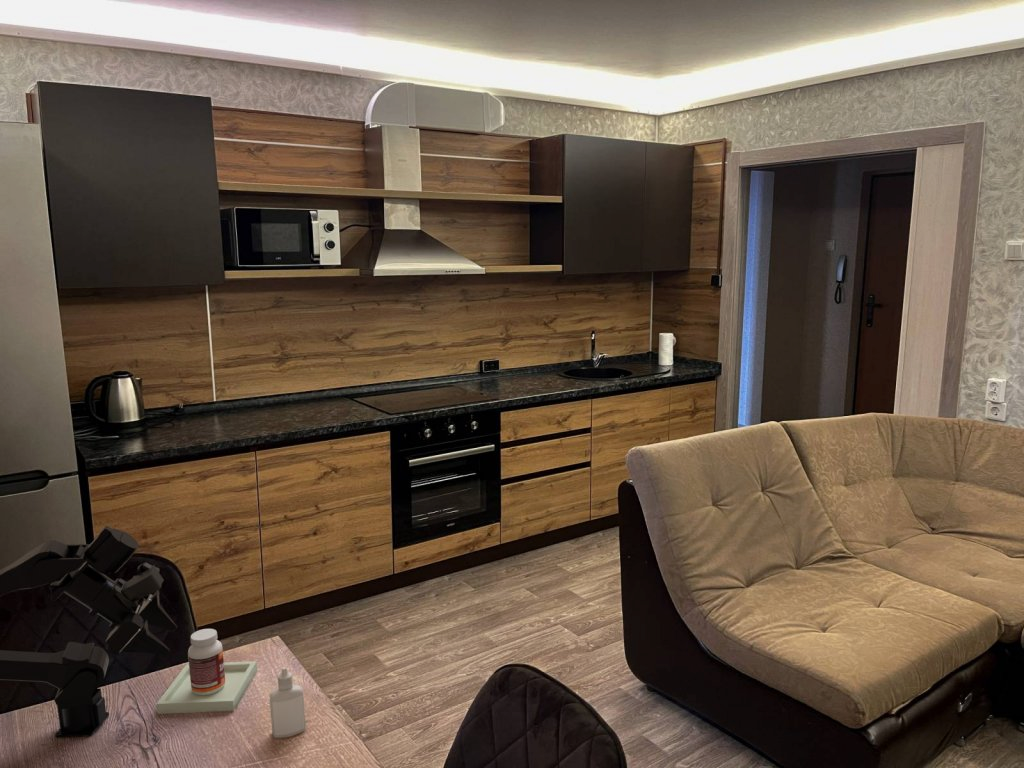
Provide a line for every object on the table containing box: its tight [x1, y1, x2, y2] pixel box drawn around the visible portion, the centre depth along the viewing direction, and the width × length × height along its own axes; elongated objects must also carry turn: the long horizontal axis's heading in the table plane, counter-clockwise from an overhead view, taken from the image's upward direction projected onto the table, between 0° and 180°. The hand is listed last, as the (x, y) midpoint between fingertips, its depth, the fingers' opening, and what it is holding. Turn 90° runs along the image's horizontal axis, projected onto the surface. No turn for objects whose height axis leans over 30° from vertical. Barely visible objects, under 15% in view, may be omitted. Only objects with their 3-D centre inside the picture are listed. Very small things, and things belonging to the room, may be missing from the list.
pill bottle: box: [187, 628, 225, 695], centre depth 143 cm, size 6×6×11 cm
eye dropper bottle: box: [269, 666, 307, 739], centre depth 130 cm, size 4×6×12 cm
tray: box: [156, 660, 259, 715], centre depth 144 cm, size 14×14×2 cm
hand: (172, 640), depth 137 cm, fingers open, 9 cm apart
